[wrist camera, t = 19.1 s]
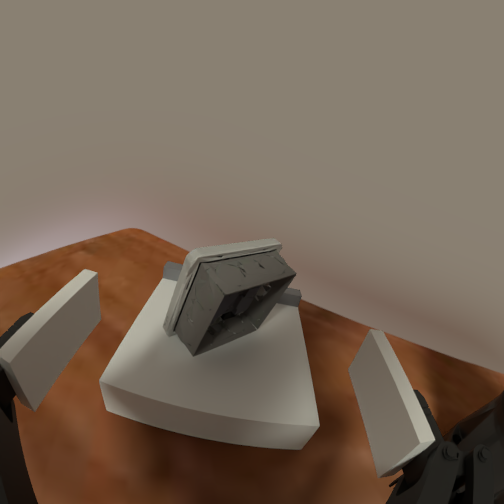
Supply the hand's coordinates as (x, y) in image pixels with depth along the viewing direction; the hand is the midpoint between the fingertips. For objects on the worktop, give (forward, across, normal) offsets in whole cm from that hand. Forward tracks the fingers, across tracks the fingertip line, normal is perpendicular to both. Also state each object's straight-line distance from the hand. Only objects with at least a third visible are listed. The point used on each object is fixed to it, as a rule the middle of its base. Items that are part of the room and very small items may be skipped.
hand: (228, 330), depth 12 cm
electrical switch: (+10, 0, -9) cm, 13 cm away
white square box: (+10, 0, -12) cm, 16 cm away
